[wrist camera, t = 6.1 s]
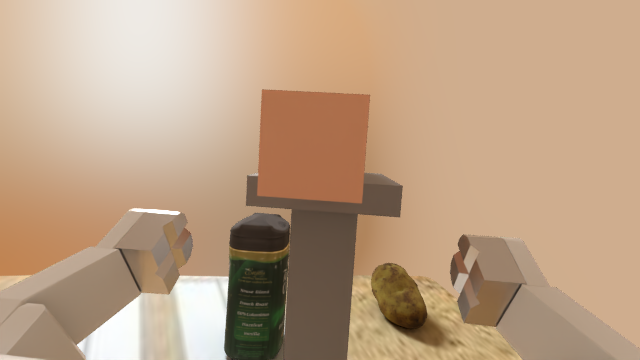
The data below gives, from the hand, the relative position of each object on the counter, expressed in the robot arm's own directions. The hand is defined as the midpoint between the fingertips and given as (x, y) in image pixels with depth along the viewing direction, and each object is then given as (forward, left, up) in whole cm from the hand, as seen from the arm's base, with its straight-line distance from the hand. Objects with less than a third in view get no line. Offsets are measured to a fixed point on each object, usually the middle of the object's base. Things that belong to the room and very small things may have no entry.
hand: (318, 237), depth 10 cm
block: (+7, +12, +1) cm, 14 cm away
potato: (+35, +33, -26) cm, 54 cm away
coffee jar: (+10, +34, -25) cm, 43 cm away
